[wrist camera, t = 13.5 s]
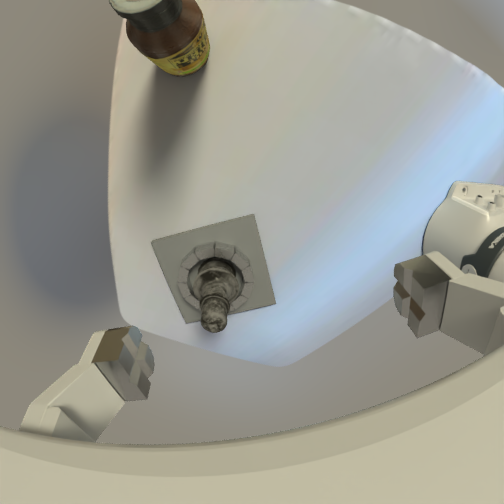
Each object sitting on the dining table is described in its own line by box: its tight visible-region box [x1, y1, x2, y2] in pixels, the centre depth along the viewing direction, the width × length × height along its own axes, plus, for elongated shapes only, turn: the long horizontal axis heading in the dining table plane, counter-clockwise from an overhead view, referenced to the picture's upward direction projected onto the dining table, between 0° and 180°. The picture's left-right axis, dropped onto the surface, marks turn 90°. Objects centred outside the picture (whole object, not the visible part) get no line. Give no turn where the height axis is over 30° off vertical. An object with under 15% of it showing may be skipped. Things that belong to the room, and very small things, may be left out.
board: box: [151, 214, 276, 323], centre depth 41 cm, size 14×14×1 cm
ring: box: [177, 241, 254, 311], centre depth 40 cm, size 10×10×2 cm
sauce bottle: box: [109, 0, 210, 76], centre depth 19 cm, size 6×6×20 cm
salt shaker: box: [193, 257, 239, 333], centre depth 35 cm, size 6×6×12 cm
